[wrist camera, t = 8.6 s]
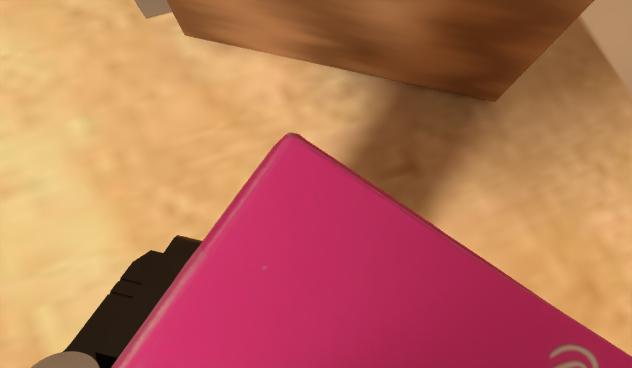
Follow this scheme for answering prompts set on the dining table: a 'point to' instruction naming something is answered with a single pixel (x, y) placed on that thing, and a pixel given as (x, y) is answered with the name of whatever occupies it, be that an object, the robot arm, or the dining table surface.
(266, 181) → the supplement box
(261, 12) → the door
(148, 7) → the tall gray cuboid
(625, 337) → the dining table surface
